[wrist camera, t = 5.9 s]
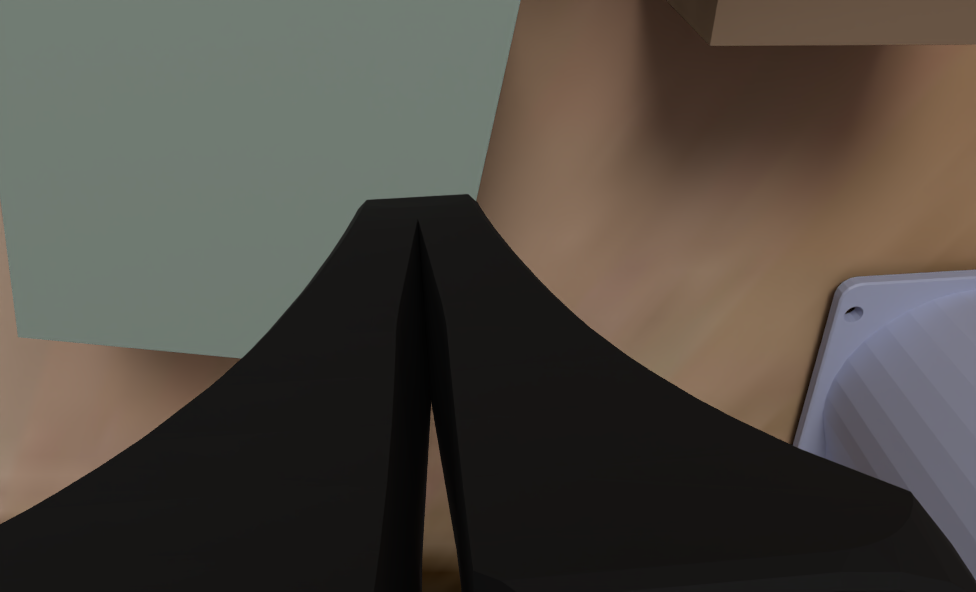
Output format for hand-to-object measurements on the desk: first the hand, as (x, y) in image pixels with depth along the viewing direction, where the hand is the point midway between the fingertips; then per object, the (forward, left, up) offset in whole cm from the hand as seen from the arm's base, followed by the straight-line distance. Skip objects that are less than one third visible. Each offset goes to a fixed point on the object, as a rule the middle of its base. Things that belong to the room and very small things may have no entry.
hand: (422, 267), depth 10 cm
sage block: (-1, +3, -10) cm, 10 cm away
